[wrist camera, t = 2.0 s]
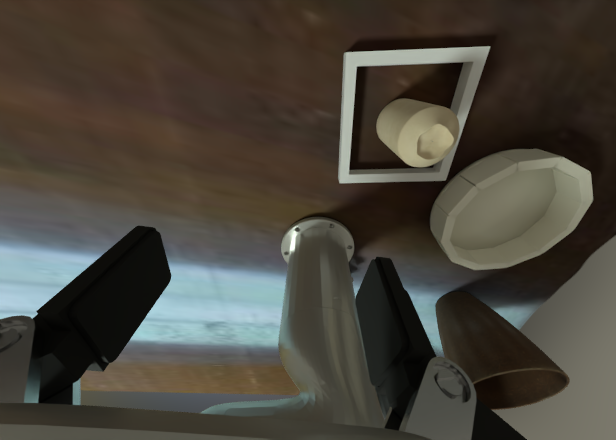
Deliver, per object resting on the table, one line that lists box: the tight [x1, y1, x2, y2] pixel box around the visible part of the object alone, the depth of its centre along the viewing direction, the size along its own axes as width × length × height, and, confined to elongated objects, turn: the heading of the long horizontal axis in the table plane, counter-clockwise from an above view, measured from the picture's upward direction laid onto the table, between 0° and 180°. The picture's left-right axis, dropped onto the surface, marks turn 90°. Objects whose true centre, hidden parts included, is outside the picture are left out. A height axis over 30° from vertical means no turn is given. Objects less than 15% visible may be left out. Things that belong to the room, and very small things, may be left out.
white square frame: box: [338, 46, 490, 183], centre depth 27 cm, size 14×14×2 cm
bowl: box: [430, 149, 593, 270], centre depth 32 cm, size 18×18×4 cm
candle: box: [376, 98, 459, 167], centre depth 23 cm, size 6×6×10 cm
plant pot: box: [436, 291, 569, 410], centre depth 40 cm, size 15×15×16 cm
